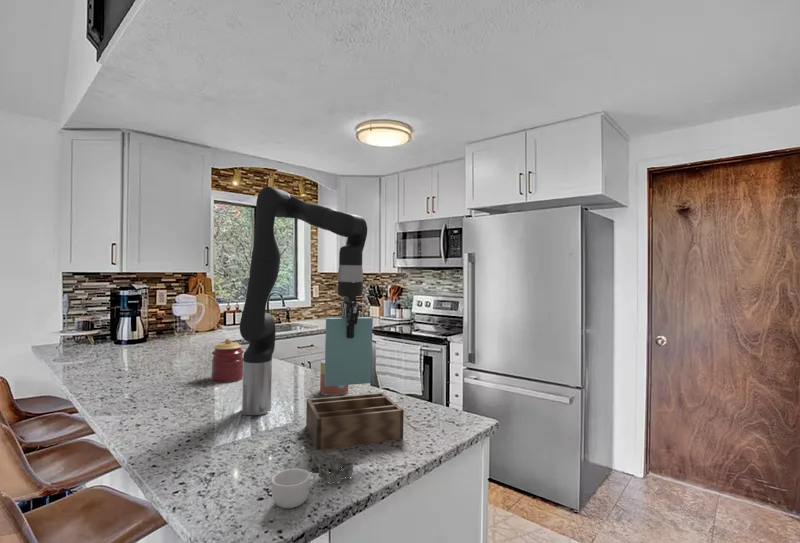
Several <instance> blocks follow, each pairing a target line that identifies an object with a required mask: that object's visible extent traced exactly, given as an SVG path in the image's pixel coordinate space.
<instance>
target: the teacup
mask: <svg viewBox="0 0 800 543" xmlns="http://www.w3.org/2000/svg"><path fill="white" fill-rule="evenodd" d="M312 476H313V478H312ZM316 476H317V475H316V473H311V472H309V470H306V469H305V468H294V467H293V468H288V469H283V470H280V471H279V472H276V473H275V474H273V476H272V477H271V495H272V499H273V501H274V502H275V504H276V505H277V506H278V507H280V508H282V509H285V508H292V509H295V508H294V507H296V508H298V507H299V506H301V505H302V504H303V503H304V502H305V501H306V500H307V498H308V496H309V492H310V488H311V487H312V486H313V485H314V484H315V482H316V480H317V477H316ZM311 478H312V481H311ZM297 506H298V507H297Z"/></svg>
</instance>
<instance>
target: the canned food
mask: <svg viewBox="0 0 800 543" xmlns="http://www.w3.org/2000/svg"><path fill="white" fill-rule="evenodd" d="M319 380H320V385H319V387H320V388H319V389H320V390H319V393H320V392H321V393H320V394H322V393H323V394H322V395H324V394H327V395H326V396H341V395H340V394H342V395H345V393H346V394H348V393H349V391H348V390H349V385H340V386H327V387H326V386H325V385H324V383H325V358H324V359H321V360H320V379H319ZM347 392H348V393H347Z"/></svg>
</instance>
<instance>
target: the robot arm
mask: <svg viewBox="0 0 800 543" xmlns="http://www.w3.org/2000/svg"><path fill="white" fill-rule="evenodd" d="M276 218H285V219H295V220H300V221H303V222H304V223H306V224H308V225H311V226H312V227H315V228H319V229H322V230H326V231H328V232H331V233H333V234H335V235H338V236H341V237H344V238H346V242H345V243H346V244H345V245H343V246H341V247H340V248H339V255H338V256H339V257H338V272H337V296H339V297H343V301H342V303H340V309H341V310H340V311H341V318H346V319H347V323H346V325H347V332H346V337H347V338H354V326H355V324H357V320H358V318H359V314H360V307H359V304H358V302H357V297H362V296H363V294H364V292H363V289H364V288H363V286H364V283H363V281H364V278H363V277H364V271H363V251H364V248H365V244H366V240H367V237H368V223H367V221H366V219H365V218H364V217H362V216H361V215H356V214H353V213H349V212H344V211H339V210H336V209H335V208H332V207H328V206H325V205H322V204H321V205H320V204H317V203H312V202H307V201H303V200H301V199H299V198H298V197H295V196H294V195H292V194H290V193H288V192H287V191H285V190H282V189H279V188H276V187H272V186H265V187H263V188H261V189H260V191H259V193H258V195H257V198H256V203H255V223H254V224H255V227H254V239H253V249H252V252H251V253H252V254H251V259H250V267H249V276H248V282H247V287H246V288H247V289H246V297H245V300H244V305H243V309H242V313H241V317H240V320H239V332H240V336H241V337H242V339H243V340H244V341H246V342H248V343H249V345H248V347H247V348H246V349H245V351H244V353H243V378H242V395H241V396H242V400H241V403H242V404H241V413H242V414H241V415H242V416H260V415H265V414H268V412H271V411H272V381H273V380H272V379H273V377H272V373H273V371H272V370H273V354H274V351H275V348H276V347H275V346H276V345H275V344H276V331H277V330H276V328H277V327H276V322H275V321H276V320H275V319H274V317H273V315H272V314H270V313H269V312H266V309H267V303H268V299H269V296H270V294H271V292H272V291H273V289H274V287H275V284H276V282H277V280H278V276H279V272H280V265H281V253H280V249H279V245H278V242H277V240H276V235H275V229H274V228H275V219H276ZM352 318H353V320H351V319H352Z"/></svg>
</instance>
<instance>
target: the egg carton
mask: <svg viewBox="0 0 800 543" xmlns="http://www.w3.org/2000/svg"><path fill="white" fill-rule="evenodd" d="M308 457H309V458H311V459H312V460H311V463H310V467H311V468H318V469H316V470H315V469H314V470H311V471H310V473H311V472H312V473H314V474H318V473H319V474H318V478H319V477H320V478H319V479H326V483H327V482H329V483H333V482H334V483H338V482H340V483H341V480H342V479H341V478H345V477H346V478H350V477H352V478H353V475H352V473H353V474H354V470H353V469H354V465H355V464H356V461H352V460H350V459H349V457H345V456H344V455H341V453H339V451H331V452H326V454H320V457H319V458H317V456H316V455H313V454H309V455H308ZM325 459H333V462H331V463H330V468H328V467H327V468H322V466H321V465H322V463H323V462H324V461H325ZM334 462H335V463H334ZM341 464H342V466H341ZM341 467H342V468H341ZM329 472H330V473H329ZM340 479H341V480H340Z"/></svg>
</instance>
